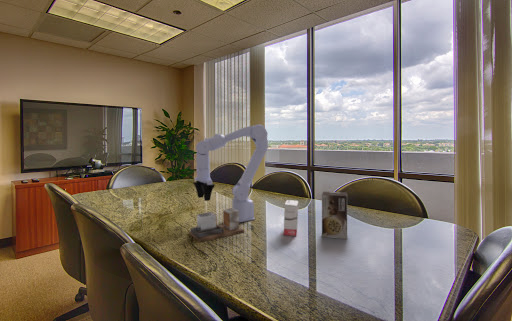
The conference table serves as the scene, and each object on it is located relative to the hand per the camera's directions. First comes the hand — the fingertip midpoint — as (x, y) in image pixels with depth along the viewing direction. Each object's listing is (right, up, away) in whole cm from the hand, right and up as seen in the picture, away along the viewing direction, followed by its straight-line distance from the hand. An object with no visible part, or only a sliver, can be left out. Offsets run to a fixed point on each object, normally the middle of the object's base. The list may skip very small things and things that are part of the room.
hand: (203, 198), depth 119 cm
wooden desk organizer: (+8, -11, -13) cm, 19 cm away
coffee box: (+53, -12, -18) cm, 57 cm away
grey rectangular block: (+4, -11, -16) cm, 19 cm away
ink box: (+37, -11, -13) cm, 41 cm away
